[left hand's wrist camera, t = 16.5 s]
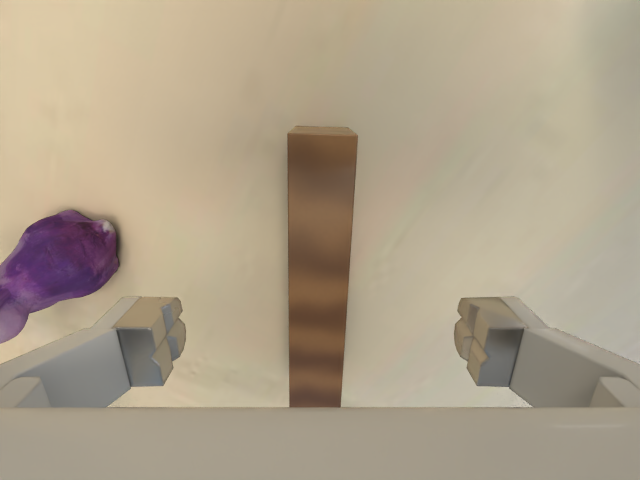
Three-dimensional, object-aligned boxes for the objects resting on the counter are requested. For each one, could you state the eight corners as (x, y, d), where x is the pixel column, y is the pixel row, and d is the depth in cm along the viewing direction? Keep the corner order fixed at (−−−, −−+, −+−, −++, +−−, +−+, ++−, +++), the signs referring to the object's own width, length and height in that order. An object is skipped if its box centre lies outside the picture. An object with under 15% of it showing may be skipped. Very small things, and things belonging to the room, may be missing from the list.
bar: (295, 126, 32) (287, 132, 24) (348, 127, 32) (358, 134, 24) (295, 364, 42) (289, 423, 35) (335, 365, 42) (339, 424, 35)
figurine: (43, 290, 38) (-116, 397, 24) (27, 202, 35) (-171, 267, 21) (130, 300, 39) (23, 410, 25) (123, 214, 35) (-7, 286, 21)
